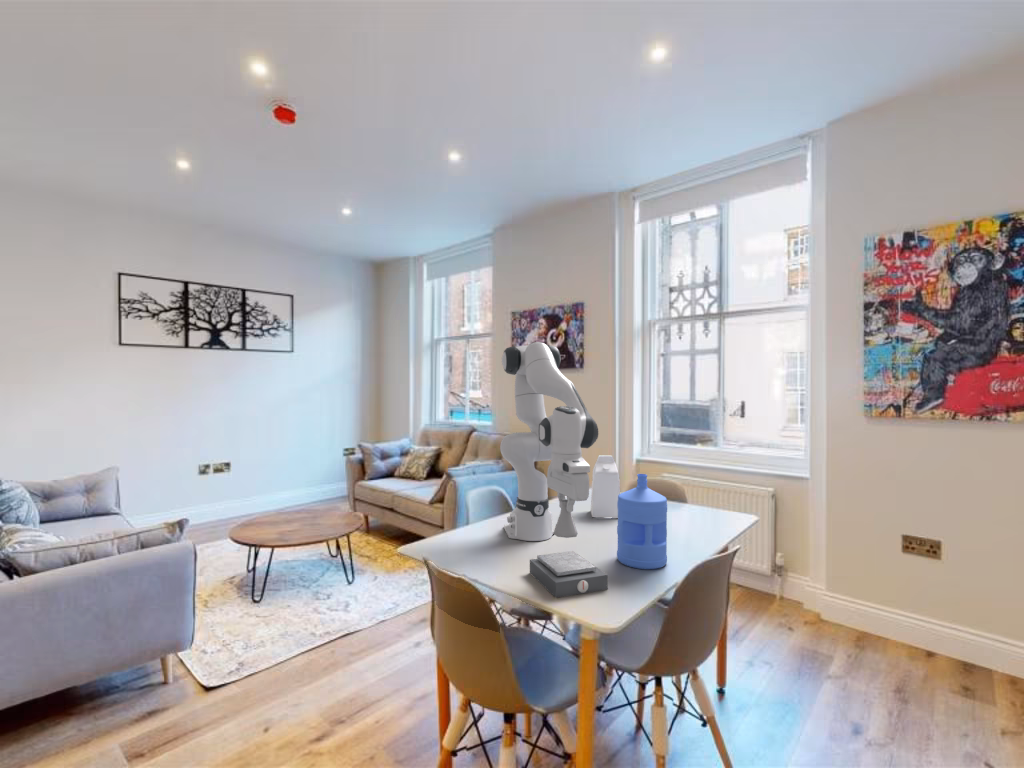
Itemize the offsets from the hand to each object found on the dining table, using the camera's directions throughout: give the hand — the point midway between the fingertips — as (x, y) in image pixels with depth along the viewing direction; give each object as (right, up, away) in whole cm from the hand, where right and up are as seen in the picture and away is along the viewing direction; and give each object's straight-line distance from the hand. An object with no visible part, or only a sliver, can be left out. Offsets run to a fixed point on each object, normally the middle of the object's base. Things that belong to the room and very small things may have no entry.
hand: (566, 509), depth 141 cm
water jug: (+26, -21, +15) cm, 37 cm away
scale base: (0, -20, -1) cm, 20 cm away
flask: (0, -8, 0) cm, 8 cm away
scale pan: (0, -16, 0) cm, 16 cm away
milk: (+25, -21, +71) cm, 79 cm away
